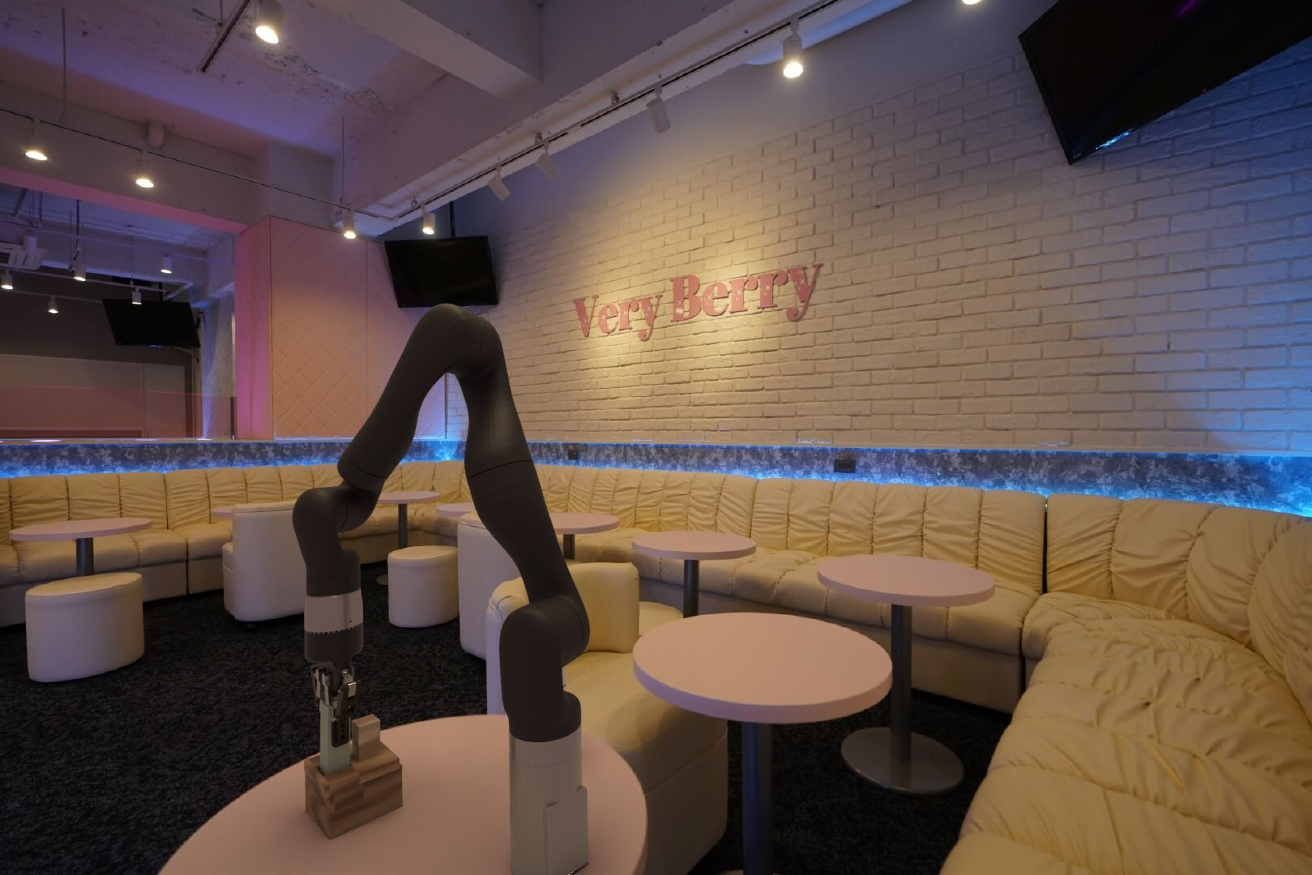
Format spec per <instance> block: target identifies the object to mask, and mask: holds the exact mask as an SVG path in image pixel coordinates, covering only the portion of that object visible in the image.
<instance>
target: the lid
mask: <svg viewBox="0 0 1312 875" xmlns="http://www.w3.org/2000/svg"><path fill="white" fill-rule="evenodd" d="M400 764H401V758H400V757H399V755H397V754H396V753H394V751H393V750H391V749H390V747H388V746H387V745H386V744H385V743H384V742H382V741H381V720H380V719H379V718H378V717H377V716H375V715H374V714H373V713H371V714H369V715H366V716H362V717H359V718H355V719H353V720H351V743H350V766H349V767H347V768H344V769H341V770H339V771H336V772H333V773H331V774H328V775H325V776H322V773H321V772H320V754H318V755H316V756H312V757H309V758H306V759H304V760H303V765H304V768H303V771H304V773H305V772H306V773H307V775H308V776H309V777H310V779H311V780H312V781H313V783H314V784H315V785H316V786H317V788H318V789H319V790H320V792H321V793H322V794H323V796H324V797H325V798H326V797H329V796H331V795H334V794H336V793H339V792H341V791H344V790H347V789H349V788H352V787H354V786H357V785H359V784H362V783H364V782H367V781H369V780H372V779H374V778H377V777H379V776H382V775H384V774H387V773H389V772H392V771H394V770H397V769H399V768H400Z"/></svg>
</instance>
